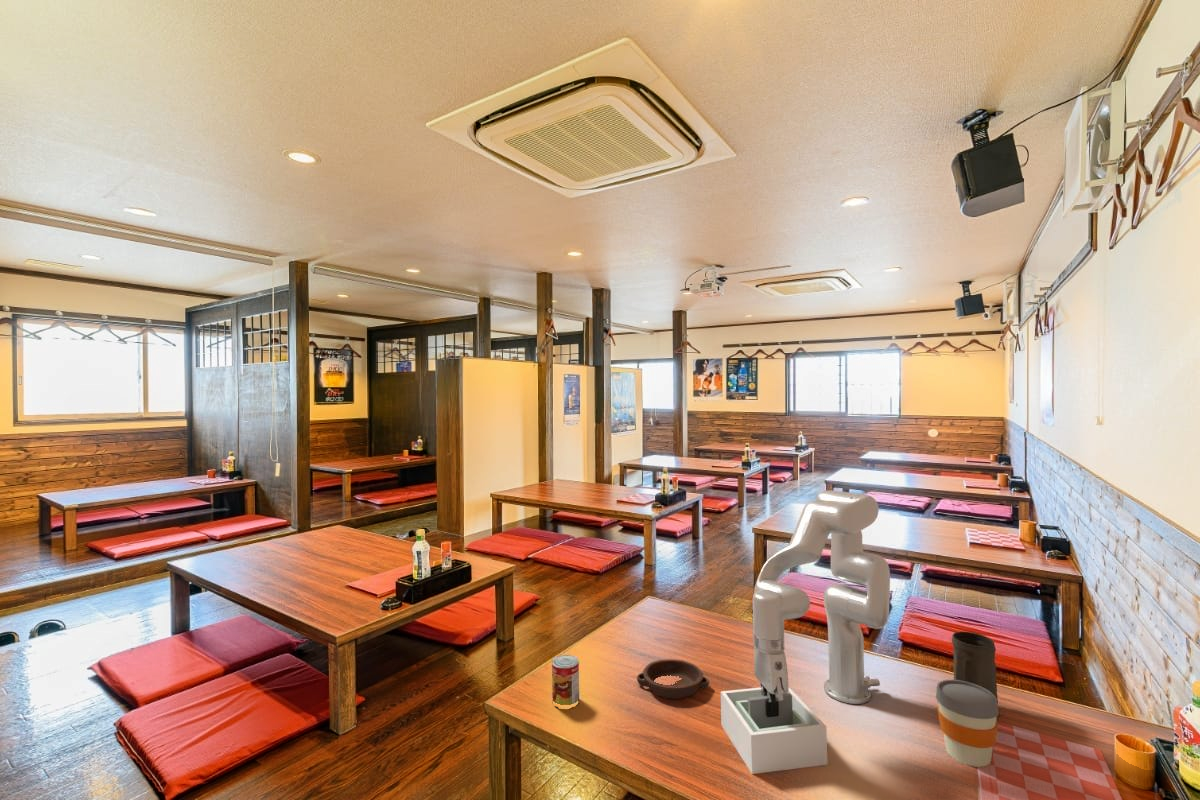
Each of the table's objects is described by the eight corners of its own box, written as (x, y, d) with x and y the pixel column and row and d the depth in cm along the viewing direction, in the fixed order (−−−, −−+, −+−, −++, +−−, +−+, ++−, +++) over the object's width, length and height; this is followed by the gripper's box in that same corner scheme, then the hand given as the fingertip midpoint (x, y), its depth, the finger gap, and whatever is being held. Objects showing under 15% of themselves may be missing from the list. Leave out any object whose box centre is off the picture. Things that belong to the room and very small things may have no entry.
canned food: (556, 693, 157) (556, 653, 157) (582, 696, 155) (581, 655, 156) (549, 708, 149) (548, 666, 149) (575, 711, 148) (574, 668, 148)
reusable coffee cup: (1013, 765, 122) (1011, 701, 123) (973, 777, 119) (971, 711, 119) (962, 733, 134) (961, 675, 135) (925, 743, 131) (923, 683, 131)
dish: (712, 706, 149) (711, 689, 149) (635, 702, 152) (634, 685, 152) (707, 675, 166) (706, 659, 166) (638, 672, 169) (638, 656, 169)
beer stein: (957, 692, 154) (953, 625, 153) (1002, 706, 146) (999, 636, 145) (944, 718, 143) (940, 647, 142) (992, 735, 135) (989, 660, 134)
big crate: (787, 717, 143) (786, 684, 143) (827, 764, 124) (826, 726, 124) (721, 725, 140) (720, 691, 140) (752, 774, 121) (751, 735, 121)
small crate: (782, 718, 139) (781, 680, 140) (808, 749, 127) (807, 708, 127) (736, 723, 137) (735, 686, 138) (758, 756, 125) (757, 714, 125)
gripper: (798, 654, 125) (800, 731, 125) (768, 627, 141) (770, 695, 140) (769, 656, 124) (771, 734, 124) (742, 629, 139) (744, 698, 139)
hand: (770, 713), depth 132 cm, fingers closed on small crate, 1 cm apart
